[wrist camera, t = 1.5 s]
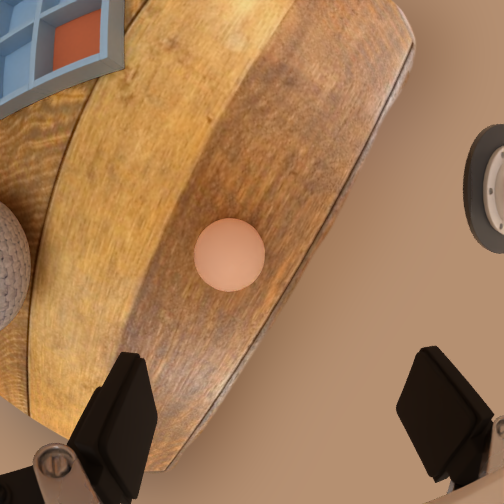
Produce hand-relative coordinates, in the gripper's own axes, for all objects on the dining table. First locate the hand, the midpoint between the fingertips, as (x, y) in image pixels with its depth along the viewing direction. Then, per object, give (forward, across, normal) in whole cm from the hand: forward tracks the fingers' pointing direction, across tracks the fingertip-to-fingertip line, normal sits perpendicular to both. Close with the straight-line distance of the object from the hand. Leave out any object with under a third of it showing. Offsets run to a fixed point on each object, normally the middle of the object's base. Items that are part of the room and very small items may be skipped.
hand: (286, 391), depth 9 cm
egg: (+20, +2, 0) cm, 20 cm away
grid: (+20, +23, -24) cm, 39 cm away
